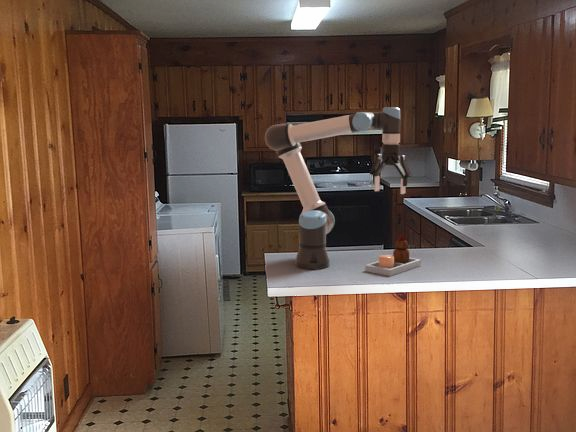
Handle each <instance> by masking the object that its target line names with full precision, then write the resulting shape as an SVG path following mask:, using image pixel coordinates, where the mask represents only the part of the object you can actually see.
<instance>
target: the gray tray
mask: <svg viewBox="0 0 576 432" xmlns="http://www.w3.org/2000/svg"><path fill="white" fill-rule="evenodd" d="M378 263H379V260H377V261H374V262H371V263H367V264H364V266H365V268H364V269H365V272H368V273H373V274H378V275H383V276H388V277H391V276H396V275H398V274H400V273H404V272H406V271H409V270H412V269H415V268H418V267H420V266H422V260H421V259H420V258H419V259H418V258H413V257H409V261H408V263H406V264H402V263H396V262H394V268H391V269H387V268H382V267H378Z"/></svg>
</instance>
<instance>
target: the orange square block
mask: <svg viewBox="0 0 576 432" xmlns="http://www.w3.org/2000/svg"><path fill="white" fill-rule="evenodd" d="M378 261H379V263H378V267H382V268H387V269H391V268H394V256H393V255H392V254H381V255H378Z"/></svg>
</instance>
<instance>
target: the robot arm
mask: <svg viewBox="0 0 576 432" xmlns="http://www.w3.org/2000/svg"><path fill="white" fill-rule="evenodd" d="M368 130H381V131H382V134H381V135H382V137H381V138H382V140H381V142H382V143H383V144H382V145H381V152H382V154H381V153H376V154H375V159H374V162H373V164H372V167H371V169H370V170H369V175H372V177H373V179H372V181H373V182H372V183H373V184H374V188H373V189H374V192H380V182H381V181H380V180H381V179H380V173H381V172H382V171H383V169H385V167H386V166H393V167H395V169H396V170H397V172H398V174H399V175H400V176H401V178H400V192H399V193H400V195H405V194H406V187H407V186H408V179H410V178H412V172H411V170H410V167H409V165H408V162H407V158H406V155H405V154H404V155H400V150H401V149H400V147H401V144H399V143H401V109H400V108H399V107H383V108H382V111H379V112H378V111H358V112H356V113H353V114H348V115H346V114H345V115H342V116H337V117H331V118H327V119H321V120H315V121H311V122H305V123H299V124H294V125H293V124H292V123H285V122H284V123H279V124H273V125H271V126H269V128H267V129H266V132H265V134H264V141H265V144H266V146H267V147H268V148H269V149H270V150H272V151H275V152H276V153H275V154H276V155H277V157H278V158H279V159H281V160H282V161H283V163H284V165H285V168H286V169H287V172H288V175H289V177H290V179H291V182H292V184H293V186H294V189H295V191H296V194H297V196H298V198H299V200H300V203H301V205H302V207H303V209H302V212H301V213H300V215H299V218H298V227H299V228H298V230H299V231H298V232H299V234H298V237H299V238H298V240H299V241H298V242H299V243H298V247H299V248H298V251H297V255H296V258H295V262H294V264H295V267H296V268H300V269H305V270H306V269H307V270H319V269H320V270H321V269H325V268H328V267H330V263H331V261H330V258H329V255H328V250H327V235H328V234H330V232H332V230H333V228H334V226H335V222H336V220H335V216H334V214H333V213H332V211H331V210H330V209H328V205H327V204H326V202H325V201H322V200H321V198H320V196H319V193H318V191H317V189H316V186H315V184H314V181H313V179H312V176H311V174H310V172H309V169H308V166H307V165H306V162H305V159H304V158H303V157H304V156H303V155H302V153H301V151H302V150H303V147H302V144H301V143H303V142H308V141H314V140H320V139H325V138H330V137H337V136H343V135H346V134H347V135H348V134H352V133H353V134H354V133H358V132H366V131H368ZM381 160H382V161H381Z"/></svg>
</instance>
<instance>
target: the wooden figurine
mask: <svg viewBox="0 0 576 432" xmlns="http://www.w3.org/2000/svg"><path fill="white" fill-rule="evenodd" d="M408 245H409V244H408V241H407V230H405V231H404V232H403V231H402V233H401V234H400V235H399V236H398V237H397V240H396V242H395V248H394V250H393V253H392V254H393V255H392V256H394V262H396V263H402V264H406V263H408V261H409V258H410V251H409V249H408Z"/></svg>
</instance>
